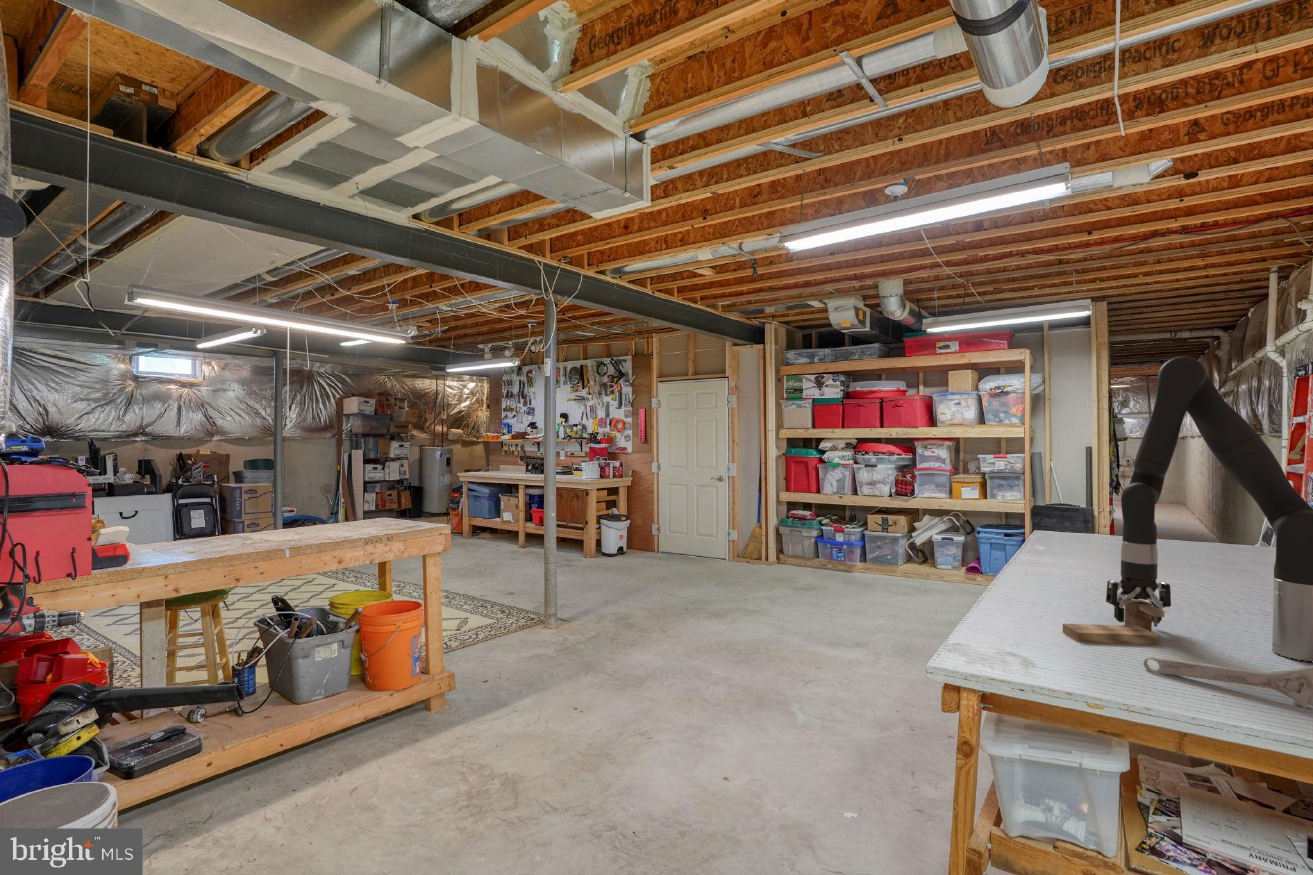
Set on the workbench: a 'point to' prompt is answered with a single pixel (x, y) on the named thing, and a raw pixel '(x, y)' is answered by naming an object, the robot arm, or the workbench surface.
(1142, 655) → the workbench surface
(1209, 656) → the workbench surface
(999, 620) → the workbench surface
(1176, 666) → the wrench
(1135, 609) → the gauge
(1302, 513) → the robot arm
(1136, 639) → the board
